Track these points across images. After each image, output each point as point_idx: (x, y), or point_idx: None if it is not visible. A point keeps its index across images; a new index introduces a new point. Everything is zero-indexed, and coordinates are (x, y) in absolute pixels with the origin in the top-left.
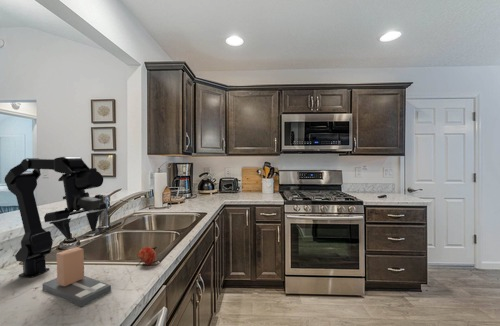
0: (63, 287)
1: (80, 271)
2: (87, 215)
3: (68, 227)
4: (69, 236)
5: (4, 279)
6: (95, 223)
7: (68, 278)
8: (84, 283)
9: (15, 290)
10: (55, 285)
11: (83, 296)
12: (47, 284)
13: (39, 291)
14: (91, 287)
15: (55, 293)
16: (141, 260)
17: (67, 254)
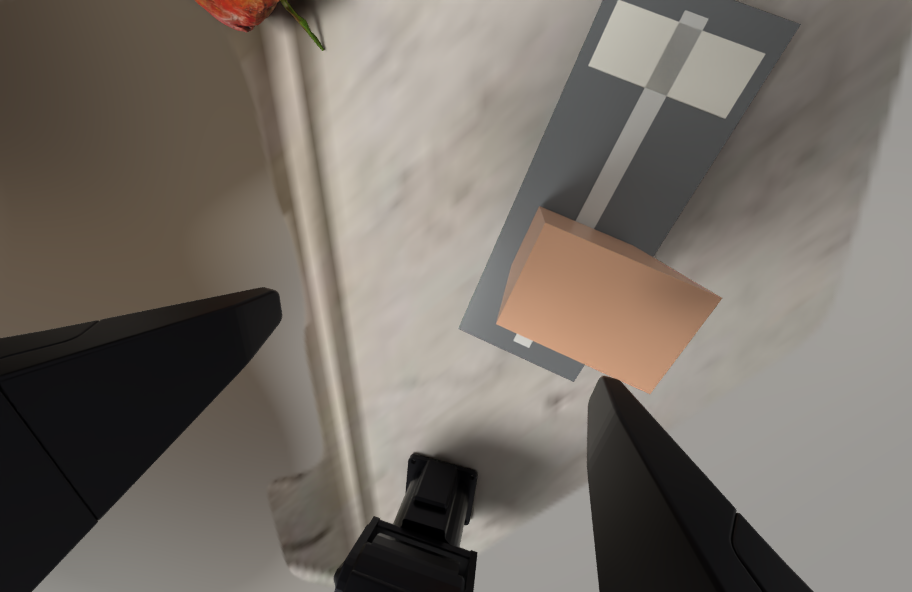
0: None
1: (560, 217)
2: (17, 583)
3: (728, 555)
4: (636, 402)
5: (490, 545)
6: (165, 318)
7: (621, 242)
8: (586, 168)
9: (571, 460)
10: None
11: (752, 45)
12: None
13: (585, 368)
14: (643, 79)
15: None
16: (287, 7)
17: (682, 282)
